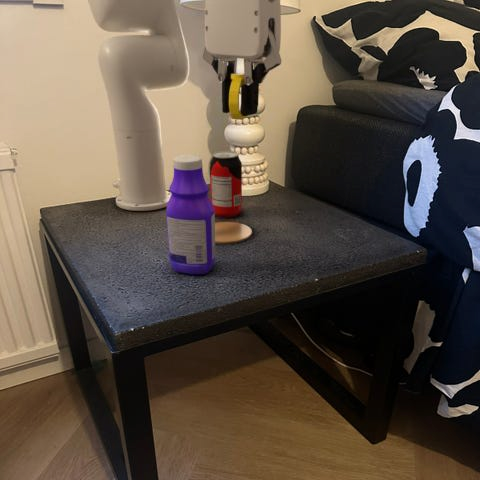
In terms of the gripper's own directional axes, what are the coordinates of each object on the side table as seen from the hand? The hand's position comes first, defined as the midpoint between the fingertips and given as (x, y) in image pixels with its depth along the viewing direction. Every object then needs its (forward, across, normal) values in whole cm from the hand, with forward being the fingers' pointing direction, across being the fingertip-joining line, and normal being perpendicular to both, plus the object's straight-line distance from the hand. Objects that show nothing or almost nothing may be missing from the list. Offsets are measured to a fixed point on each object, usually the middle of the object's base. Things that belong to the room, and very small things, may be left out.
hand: (239, 111), depth 69 cm
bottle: (+23, +2, +9) cm, 25 cm away
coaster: (+23, +8, -6) cm, 25 cm away
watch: (+1, 0, 0) cm, 1 cm away
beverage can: (+23, +14, -14) cm, 30 cm away
